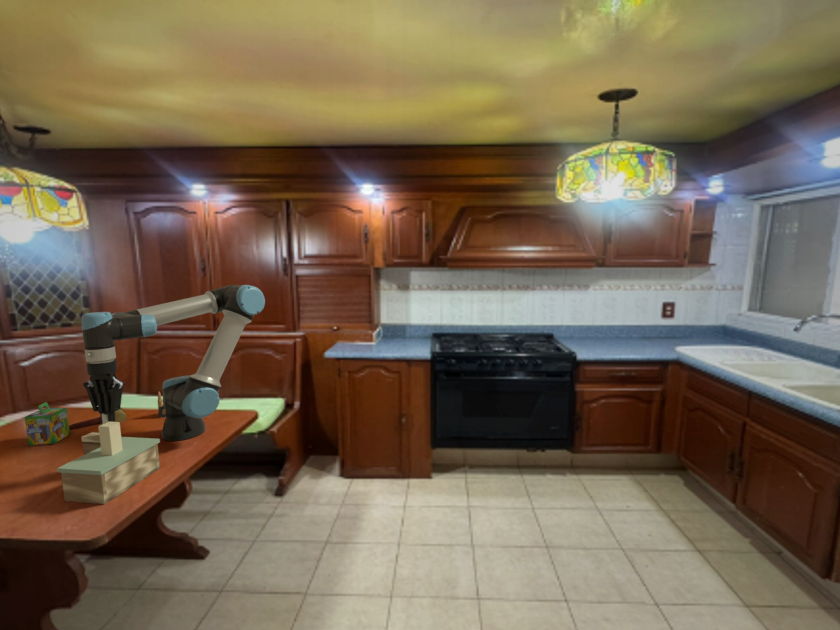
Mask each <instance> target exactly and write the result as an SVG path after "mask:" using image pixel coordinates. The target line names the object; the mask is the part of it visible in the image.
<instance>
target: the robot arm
mask: <svg viewBox="0 0 840 630" xmlns="http://www.w3.org/2000/svg"><path fill="white" fill-rule="evenodd" d="M265 304H266V299H265V296H264V293H263V292H262V290H261V288H260V289H259V288H258V287H257V286H254V285H249V284H243V285H242V284H228V285H226V286H223V287H219V288H215V289H211V290H207V291H205V292H204V294H201V295H196V296H191V297H187V298H183V299H182V298H181V299H178V300H174V301H169V302H165V303H159V304H156V305H152V306H151V305H150V306H146V307H142V308H137V309H135V310H129V311H125V312H121V311H120V312H114V313H111V312H110V311H98V312H96V311H95V312H93V311H92V312H86V313H83V315H82V316H81V331H82V338H83V339H82V340H83V345H84V355H85V362H87V363H86V365H85V367H86V373H87V375H88V376H89V380H88V381H85V382H83V383H82V385H83V387H84V388H85V390H86V392H87V395H88V396H87V397H88V399H89V401H90V404H91V407H92V410H93V412H98V413H99V415H100V416H99V417H101V422H102V423H103V424H105V423H107V422H115V411H117V410H119V409H120V407H121V405H122V397H123V389H124V387H125V384H126V382H125V381H120V380H119V379H118V376H117V374H116V372H117V371H118V363H117V360H116V359H117V353H116V344H115V341H121V340H128V339H129V340H130V339H138V338H146V337H151V336H154V335H156V333H157V330H158V326H161V325H165V324H169V323H172V322H178V321H181V320H186V319H188V318H189V319H190V318H193V317H197V316H201V315H205V314H208V313H211V314H213V315H215V314H218V313H222V314H223V317H222V320H221V322H220V323H219V326H218V328H217V330H216V332H215V334H214V336H213V338H212V339H211V342H210V344H209V346H208V348H207V350H206V352H205V354H204V356H203V358H202V361H201V362H200V364H199V366H198V368H197V371H196V372H195V373H194V374H191V375H188V374H187V375H182V376H176V377H171V378H168V379H166V380H165V379H164V381H163V382H162V388H161V389H162V398H163V397H164V407H165V417H164V422H163V426H162V430H161V438H162V440H164V441H168V442H172V441H173V442H176V441H184V440H185V441H186V440H188V439H192V438H194V437H198V436H199V435H202V434H203V433H204V432H205V431H206V423H205V421H204V420H203V418H206V417H208V416H210V415H212V414H213V413H214V412H215V411H216V410H217V408H218V407H219V405H220V400H221V399H220V395H219V392H220V389H221V387H222V385H221V382H220V380H221V378H222V375H223V374H224V371H225V370H226V366H227V365H228V363H229V361H230V359H231V357H232V354H233V352H234V350H235V348H236V346H237V344H238V342H239V340H240V338H241V335H242V333H243V331H244V329H245V326H247V325H248V324H250V323H252V322H253V319H254V318H255V315H258V314H260V313H261V312H262V311H263V310H264V308H265V306H266V305H265ZM121 408H122V407H121ZM102 423H101V424H102Z"/></svg>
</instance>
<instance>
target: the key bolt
mask: <svg viewBox="0 0 840 630" xmlns="http://www.w3.org/2000/svg"><path fill="white" fill-rule="evenodd" d="M100 425H103V423H99V424H97V426H100ZM80 438H81V439H80V440H81V442H82V443H83V442H97V443H100V436H99V432H89V433H87V434H85V435H82V436H81V437H80Z"/></svg>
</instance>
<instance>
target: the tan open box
mask: <svg viewBox="0 0 840 630" xmlns="http://www.w3.org/2000/svg"><path fill="white" fill-rule="evenodd" d="M158 444H159V443H158ZM158 444H156V445H154V446H152V447H151V448H149V449H147V450H145V451H143V452H142V453H140V454H138V455H136V456H135V457H133V458H131V459H129V460H127V461H126V462H124V463H122V464H120V465H119V466H117V467H115V468H113V469H111V470H110V471H108V472H106V473H104V474H103V475H90V474H75V473H61V472H60V473H61V483H62V490H63V496H64V502H70V501H76V502H75V503H82V502H85V503H84V504H95V503H99V504H98V505H106V504H107V502H108V501H109V502H110V500H111V501H112V500H114V499H115V498H116V497H119V496H120V495H122V494H123V493H124V492H126V491H128V490H129V489H130V488H133V487H134V486H135V485H137V484H138V483H140V482H141V481H143V480H145V479H147V477H150V476H151V475H152V474H155V471H156V472H157V471H159V470H160V469H161V466H160V464H161V463H160V457H159V455H160V454H159V445H158ZM100 447H101V445H100V443H97V442H82V449H83V455H85V454H87V453H90V452H92V451H94V450H96V449H98V448H100ZM144 478H145V479H144ZM113 498H114V499H113ZM109 502H108V503H109Z"/></svg>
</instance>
